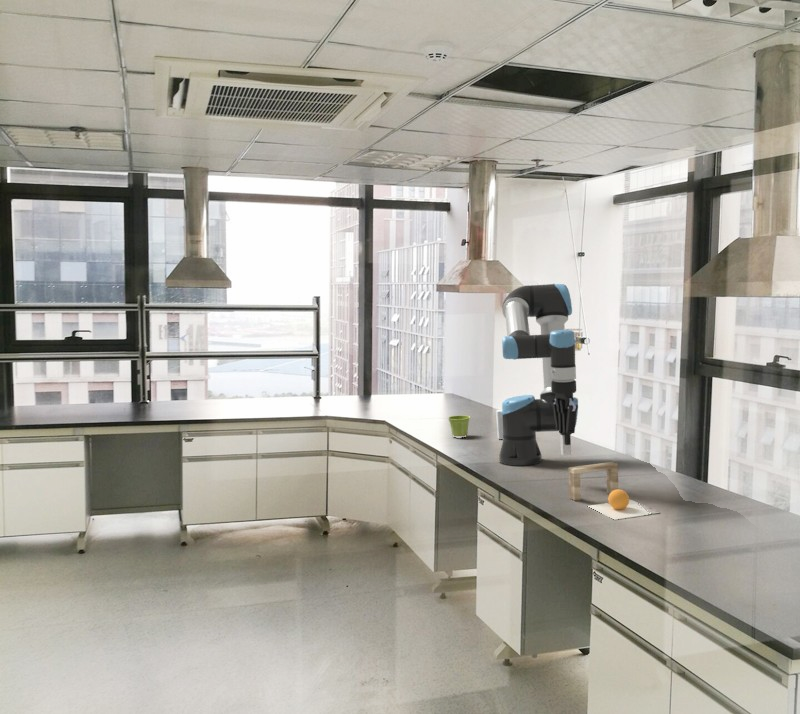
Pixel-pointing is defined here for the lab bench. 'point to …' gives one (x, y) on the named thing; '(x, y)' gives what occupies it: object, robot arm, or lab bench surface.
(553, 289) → the robot arm
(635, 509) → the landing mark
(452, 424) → the plant pot
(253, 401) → the lab bench surface
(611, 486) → the bridge
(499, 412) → the skincare box
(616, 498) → the ball
